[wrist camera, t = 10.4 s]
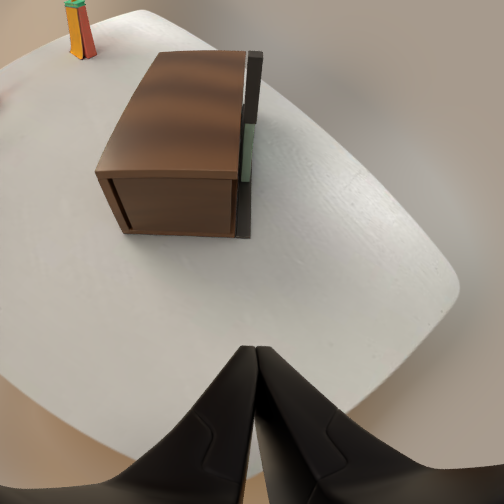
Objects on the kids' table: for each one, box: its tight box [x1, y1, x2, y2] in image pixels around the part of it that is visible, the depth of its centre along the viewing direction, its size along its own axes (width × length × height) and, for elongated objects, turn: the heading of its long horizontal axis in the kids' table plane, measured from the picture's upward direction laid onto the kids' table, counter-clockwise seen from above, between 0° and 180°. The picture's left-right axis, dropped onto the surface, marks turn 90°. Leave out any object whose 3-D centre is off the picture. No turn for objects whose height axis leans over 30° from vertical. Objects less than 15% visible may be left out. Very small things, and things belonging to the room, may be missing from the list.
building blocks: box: [64, 0, 97, 60], centre depth 34 cm, size 12×35×14 cm, turn 133°
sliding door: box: [241, 51, 263, 182], centre depth 25 cm, size 10×1×13 cm, turn 179°
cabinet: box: [95, 50, 252, 239], centre depth 27 cm, size 20×11×8 cm, turn 179°
